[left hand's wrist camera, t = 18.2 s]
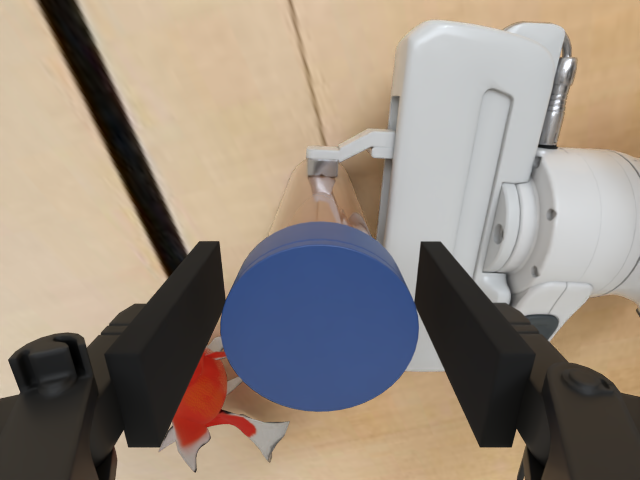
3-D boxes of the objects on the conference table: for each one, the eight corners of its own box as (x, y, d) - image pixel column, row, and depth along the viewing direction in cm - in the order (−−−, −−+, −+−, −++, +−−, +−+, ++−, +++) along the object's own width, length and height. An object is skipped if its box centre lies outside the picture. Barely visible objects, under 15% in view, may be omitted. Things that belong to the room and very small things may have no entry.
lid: (288, 389, 14) (283, 435, 12) (201, 269, 12) (179, 301, 10) (430, 330, 13) (448, 369, 11) (358, 188, 11) (366, 206, 9)
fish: (281, 314, 26) (221, 471, 20) (319, 394, 38) (287, 510, 31) (160, 295, 30) (76, 423, 23) (228, 373, 41) (183, 474, 35)
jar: (280, 166, 27) (217, 274, 10) (341, 148, 27) (378, 230, 10) (299, 224, 29) (271, 397, 12) (357, 208, 28) (411, 364, 12)
